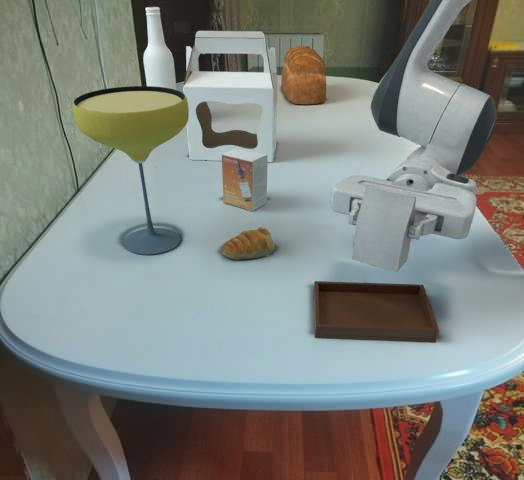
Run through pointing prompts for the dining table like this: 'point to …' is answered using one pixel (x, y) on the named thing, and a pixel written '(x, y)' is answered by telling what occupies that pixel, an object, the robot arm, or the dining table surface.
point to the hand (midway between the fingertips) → (383, 226)
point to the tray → (373, 312)
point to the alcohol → (158, 54)
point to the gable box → (230, 95)
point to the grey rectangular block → (383, 229)
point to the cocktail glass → (135, 139)
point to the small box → (244, 178)
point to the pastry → (249, 245)
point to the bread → (303, 76)
